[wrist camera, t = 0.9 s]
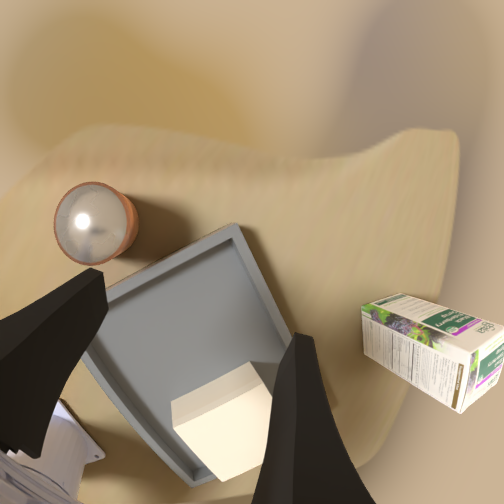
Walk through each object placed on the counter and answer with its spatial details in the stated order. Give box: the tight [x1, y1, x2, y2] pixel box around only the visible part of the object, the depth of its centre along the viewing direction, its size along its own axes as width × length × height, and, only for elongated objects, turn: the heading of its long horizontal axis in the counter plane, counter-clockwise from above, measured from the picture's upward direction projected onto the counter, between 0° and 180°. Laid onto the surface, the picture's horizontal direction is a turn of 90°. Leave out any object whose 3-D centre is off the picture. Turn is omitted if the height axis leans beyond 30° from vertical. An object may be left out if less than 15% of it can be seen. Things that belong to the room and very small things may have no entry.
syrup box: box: [361, 293, 504, 414], centre depth 24 cm, size 6×6×14 cm
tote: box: [81, 223, 292, 488], centre depth 25 cm, size 16×21×2 cm
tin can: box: [54, 182, 139, 266], centre depth 20 cm, size 5×5×6 cm
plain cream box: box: [171, 361, 272, 482], centre depth 24 cm, size 8×8×4 cm
